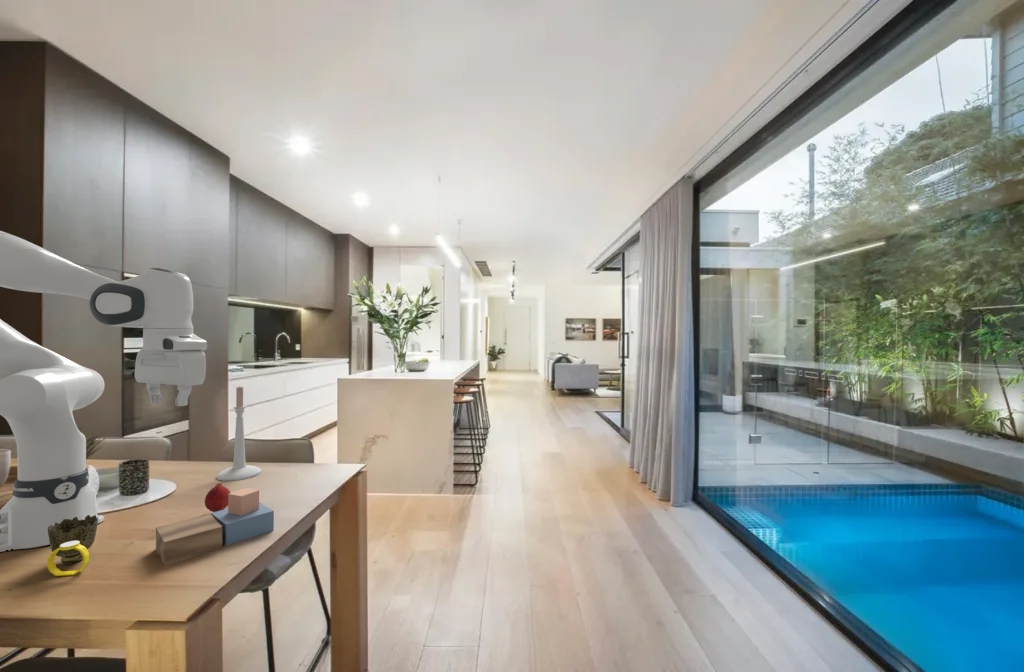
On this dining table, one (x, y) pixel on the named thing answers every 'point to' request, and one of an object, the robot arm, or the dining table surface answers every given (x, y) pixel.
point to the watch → (68, 546)
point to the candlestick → (239, 448)
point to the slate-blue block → (244, 524)
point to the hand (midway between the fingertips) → (168, 404)
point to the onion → (217, 498)
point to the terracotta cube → (243, 501)
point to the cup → (72, 536)
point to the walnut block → (188, 538)
